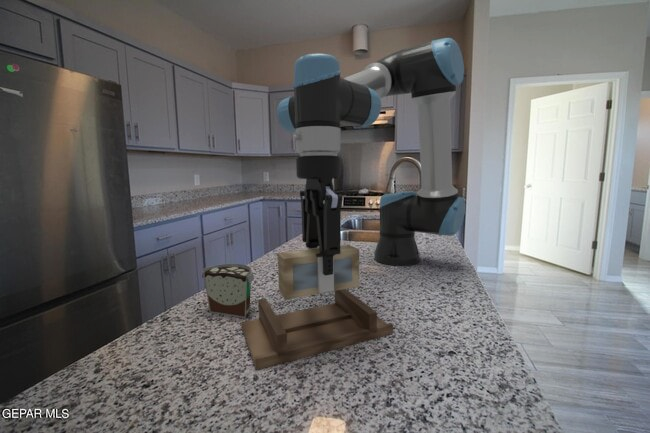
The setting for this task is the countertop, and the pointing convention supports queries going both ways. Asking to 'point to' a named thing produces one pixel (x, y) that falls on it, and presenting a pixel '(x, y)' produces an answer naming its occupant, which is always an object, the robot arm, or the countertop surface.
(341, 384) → the countertop surface
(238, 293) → the food container
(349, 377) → the countertop surface
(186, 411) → the countertop surface
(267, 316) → the wooden slatted panel
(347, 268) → the tan rectangular block
